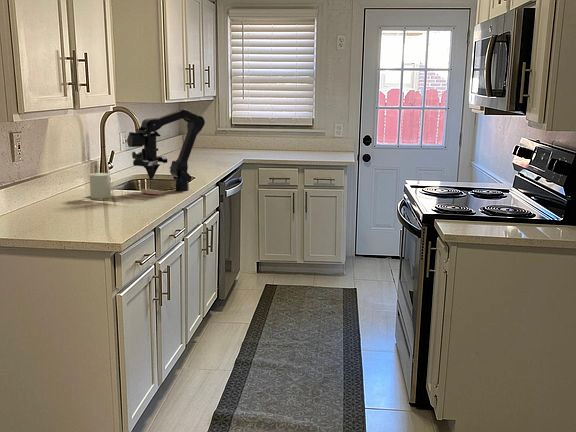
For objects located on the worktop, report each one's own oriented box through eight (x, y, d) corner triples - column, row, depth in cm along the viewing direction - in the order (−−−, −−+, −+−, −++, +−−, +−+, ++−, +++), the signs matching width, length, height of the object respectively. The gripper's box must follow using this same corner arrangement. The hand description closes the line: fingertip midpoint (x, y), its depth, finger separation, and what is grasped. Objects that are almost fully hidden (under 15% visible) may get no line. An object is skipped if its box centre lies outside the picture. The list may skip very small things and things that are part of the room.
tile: (140, 192, 275) (152, 193, 284) (154, 194, 272) (166, 194, 280) (141, 189, 275) (153, 189, 284) (154, 190, 272) (166, 191, 280)
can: (86, 199, 266) (84, 173, 264) (103, 196, 273) (102, 171, 271) (98, 201, 261) (96, 175, 258) (115, 199, 268) (114, 173, 265)
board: (136, 194, 280) (136, 192, 280) (166, 197, 273) (166, 195, 272) (114, 199, 267) (114, 196, 267) (146, 203, 259) (146, 200, 259)
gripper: (149, 143, 283) (150, 175, 287) (123, 146, 267) (124, 180, 270) (167, 145, 279) (168, 177, 282) (142, 148, 262) (143, 182, 266)
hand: (151, 179), depth 275 cm, fingers closed
